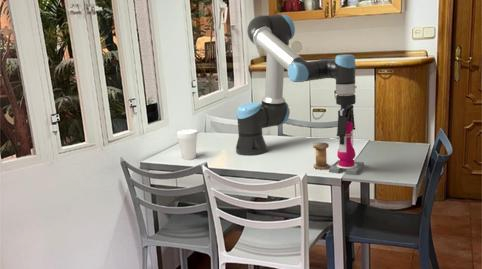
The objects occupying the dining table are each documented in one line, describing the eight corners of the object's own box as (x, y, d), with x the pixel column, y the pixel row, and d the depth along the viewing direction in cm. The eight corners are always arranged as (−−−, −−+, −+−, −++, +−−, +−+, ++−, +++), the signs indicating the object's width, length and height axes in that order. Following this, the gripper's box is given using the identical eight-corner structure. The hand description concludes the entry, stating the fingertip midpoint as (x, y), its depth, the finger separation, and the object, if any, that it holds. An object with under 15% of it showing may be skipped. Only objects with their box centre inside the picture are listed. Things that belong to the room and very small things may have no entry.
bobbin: (311, 169, 193) (310, 145, 191) (316, 164, 199) (315, 142, 196) (326, 170, 190) (325, 146, 188) (331, 166, 196) (330, 143, 193)
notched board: (328, 172, 187) (328, 168, 187) (338, 163, 198) (338, 159, 198) (355, 174, 182) (355, 170, 182) (363, 165, 193) (363, 161, 193)
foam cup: (175, 160, 220) (173, 133, 217) (185, 155, 228) (182, 129, 226) (193, 161, 216) (191, 134, 214) (202, 155, 225) (200, 129, 222)
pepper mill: (356, 162, 192) (355, 115, 187) (354, 167, 185) (353, 119, 181) (338, 161, 194) (337, 115, 190) (336, 167, 188) (334, 119, 183)
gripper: (347, 98, 172) (348, 156, 177) (362, 90, 191) (362, 142, 196) (327, 98, 176) (329, 155, 181) (344, 90, 195) (344, 141, 200)
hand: (346, 148), depth 188 cm, fingers open, 10 cm apart
